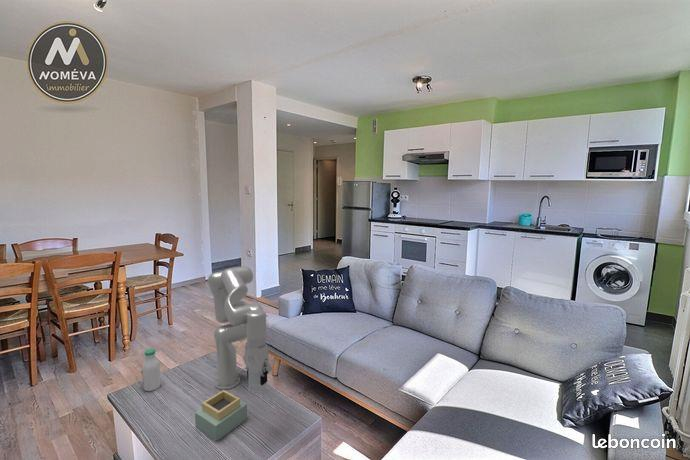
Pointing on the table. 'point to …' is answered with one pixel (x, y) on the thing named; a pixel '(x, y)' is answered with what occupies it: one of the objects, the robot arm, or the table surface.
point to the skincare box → (255, 380)
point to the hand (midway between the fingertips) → (257, 380)
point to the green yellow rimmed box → (220, 415)
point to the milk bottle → (151, 371)
